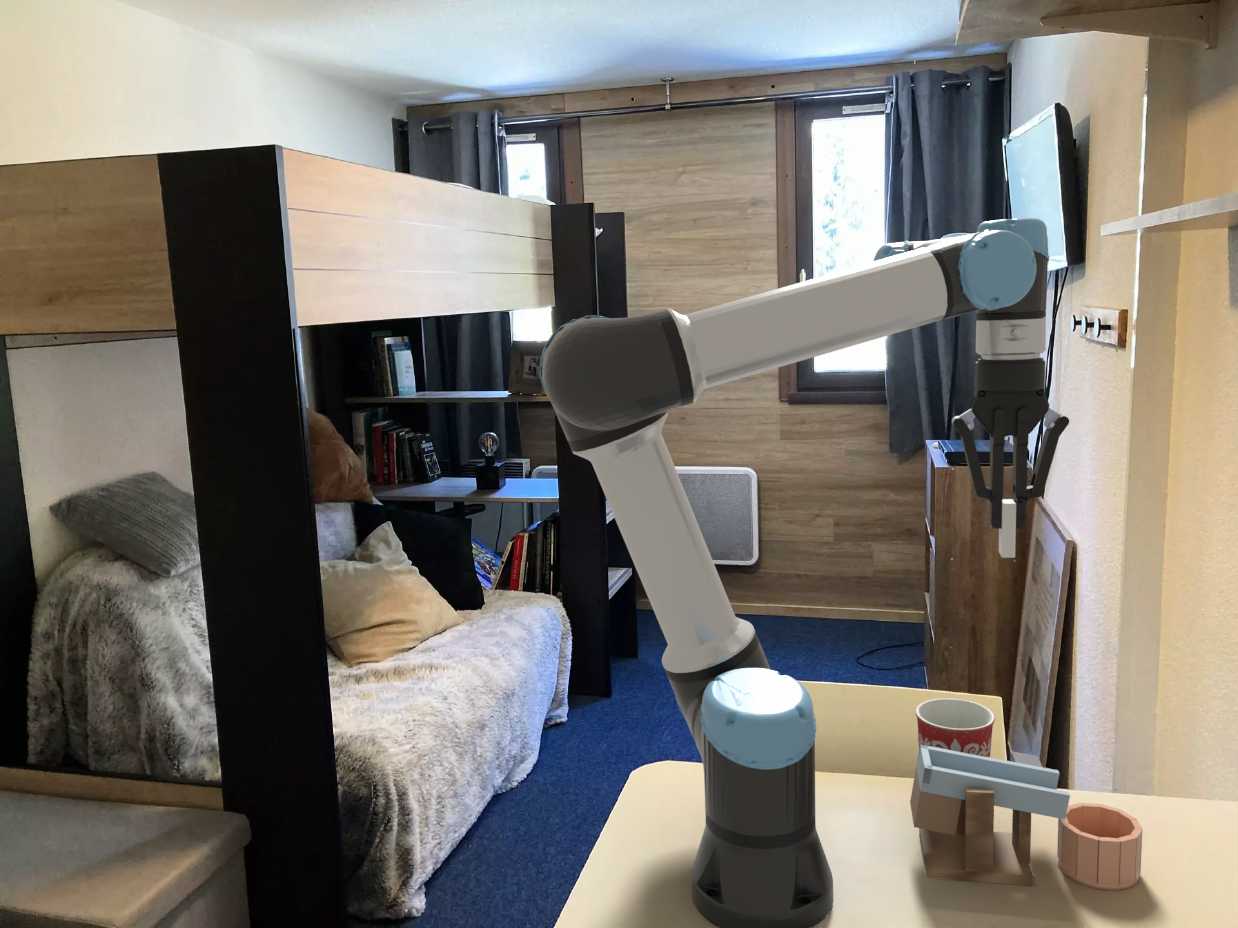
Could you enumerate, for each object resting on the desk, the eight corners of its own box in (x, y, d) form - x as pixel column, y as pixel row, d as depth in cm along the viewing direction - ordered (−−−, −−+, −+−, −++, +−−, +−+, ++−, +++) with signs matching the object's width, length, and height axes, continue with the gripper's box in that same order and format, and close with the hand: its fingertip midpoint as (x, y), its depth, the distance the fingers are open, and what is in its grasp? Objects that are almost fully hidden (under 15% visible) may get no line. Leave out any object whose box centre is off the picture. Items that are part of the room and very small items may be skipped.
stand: (926, 877, 108) (926, 789, 107) (919, 836, 117) (919, 753, 115) (1034, 885, 106) (1036, 795, 104) (1019, 842, 114) (1021, 758, 113)
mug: (998, 839, 115) (1000, 730, 113) (917, 833, 117) (917, 726, 115) (984, 787, 127) (986, 688, 125) (911, 782, 130) (911, 685, 127)
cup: (1067, 886, 106) (1068, 838, 105) (1051, 846, 113) (1052, 800, 112) (1149, 892, 104) (1151, 843, 103) (1127, 851, 112) (1128, 805, 111)
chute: (914, 828, 109) (924, 768, 108) (905, 773, 122) (915, 718, 120) (1057, 857, 106) (1070, 796, 105) (1033, 798, 119) (1044, 742, 117)
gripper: (954, 360, 112) (952, 562, 116) (1078, 356, 109) (1072, 563, 113) (948, 356, 119) (946, 546, 123) (1064, 352, 116) (1059, 547, 120)
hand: (1006, 554), depth 118 cm, fingers closed
